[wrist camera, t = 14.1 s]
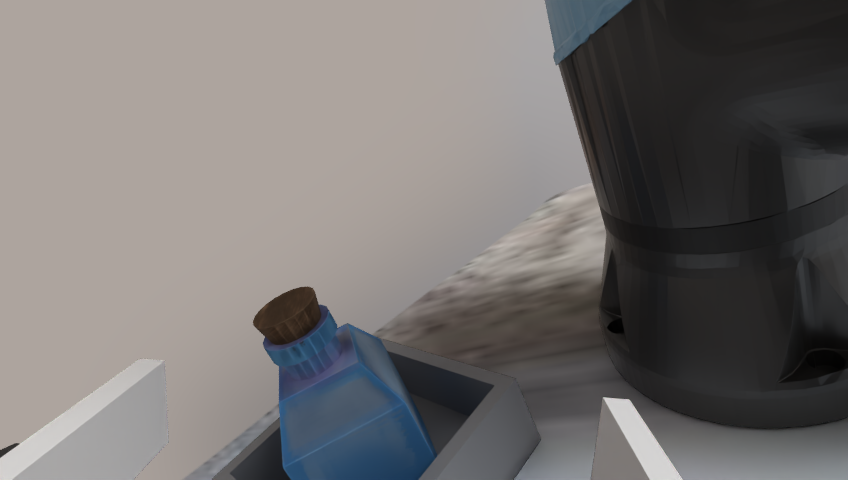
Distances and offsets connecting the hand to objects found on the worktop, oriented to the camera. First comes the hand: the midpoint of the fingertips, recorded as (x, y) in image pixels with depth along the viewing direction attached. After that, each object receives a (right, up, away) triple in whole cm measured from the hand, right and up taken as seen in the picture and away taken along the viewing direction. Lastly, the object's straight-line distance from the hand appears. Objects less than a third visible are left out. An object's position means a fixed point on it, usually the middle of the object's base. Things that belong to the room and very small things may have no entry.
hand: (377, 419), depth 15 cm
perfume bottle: (-1, -8, +13) cm, 16 cm away
